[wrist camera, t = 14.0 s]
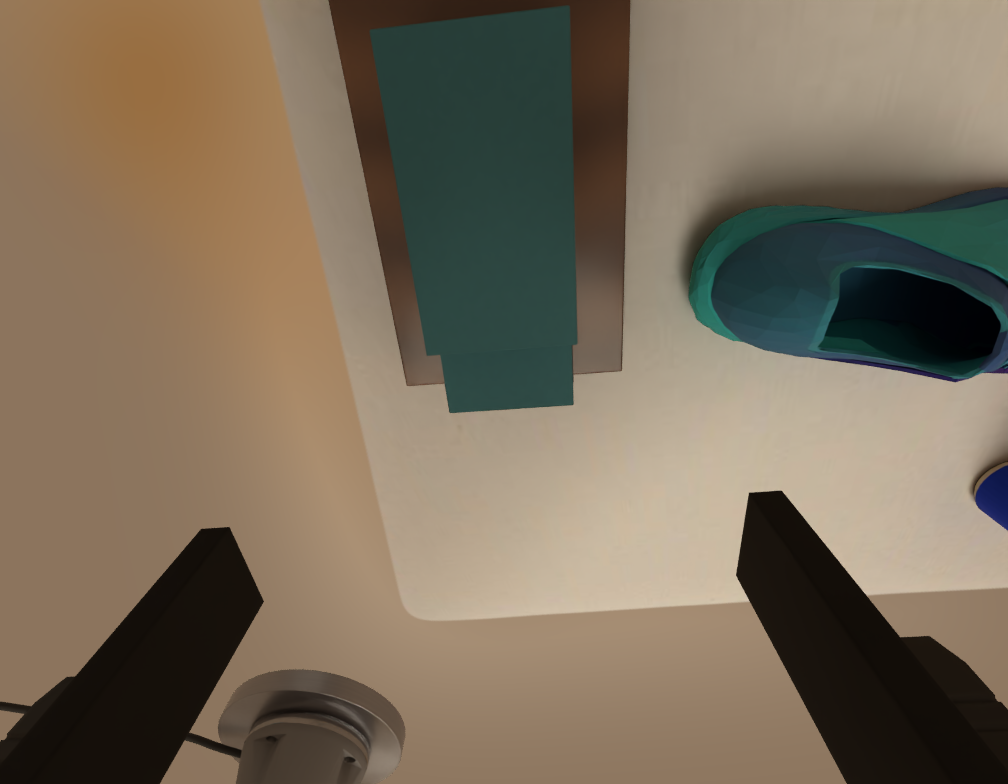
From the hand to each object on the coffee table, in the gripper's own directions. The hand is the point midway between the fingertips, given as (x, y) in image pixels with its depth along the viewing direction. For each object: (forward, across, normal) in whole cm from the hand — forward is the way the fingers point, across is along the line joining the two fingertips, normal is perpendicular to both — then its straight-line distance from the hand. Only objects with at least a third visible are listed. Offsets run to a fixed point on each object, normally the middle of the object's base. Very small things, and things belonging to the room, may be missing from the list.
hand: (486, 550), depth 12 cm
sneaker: (+22, +24, 0) cm, 33 cm away
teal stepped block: (+18, 0, +6) cm, 19 cm away
